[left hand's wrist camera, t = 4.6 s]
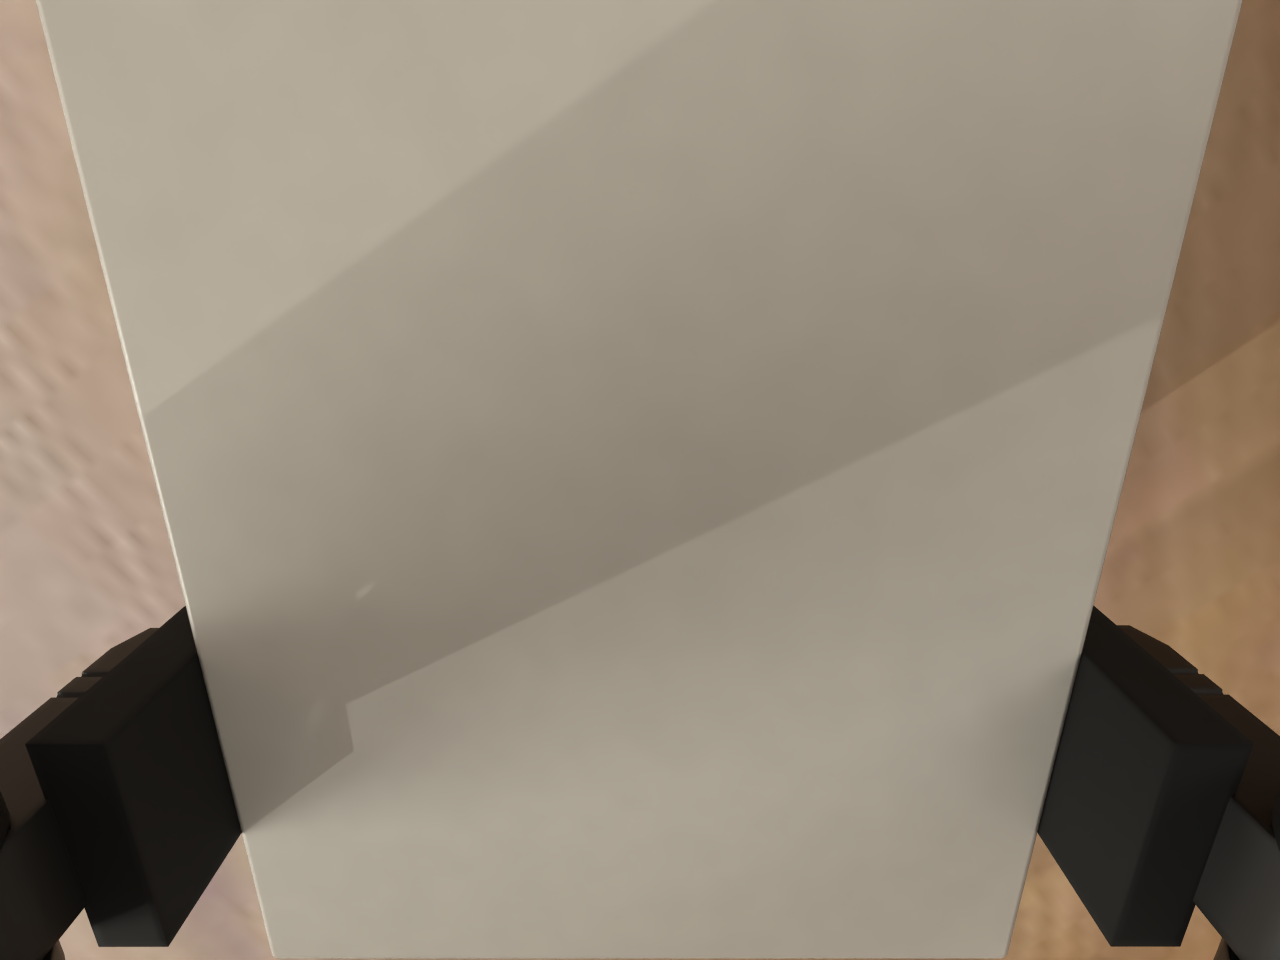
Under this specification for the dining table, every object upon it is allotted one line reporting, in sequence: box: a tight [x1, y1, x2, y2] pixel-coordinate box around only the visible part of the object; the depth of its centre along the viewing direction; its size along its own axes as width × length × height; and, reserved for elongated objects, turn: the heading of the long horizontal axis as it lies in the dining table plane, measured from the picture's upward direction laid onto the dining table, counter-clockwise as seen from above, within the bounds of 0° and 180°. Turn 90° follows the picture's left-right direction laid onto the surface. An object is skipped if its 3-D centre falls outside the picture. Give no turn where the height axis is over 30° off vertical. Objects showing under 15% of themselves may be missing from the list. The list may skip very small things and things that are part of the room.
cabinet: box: [36, 0, 1243, 958], centre depth 11 cm, size 16×10×9 cm, turn 0°
